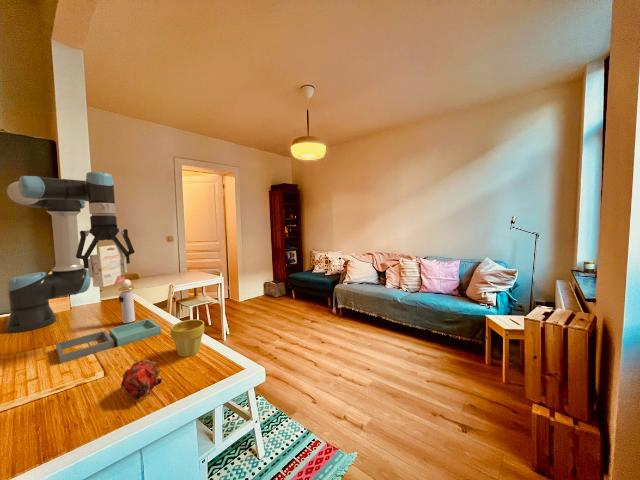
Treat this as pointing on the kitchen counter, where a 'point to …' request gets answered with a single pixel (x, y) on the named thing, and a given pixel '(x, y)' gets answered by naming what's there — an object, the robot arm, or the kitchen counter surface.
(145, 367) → the dragon fruit
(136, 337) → the teal tray
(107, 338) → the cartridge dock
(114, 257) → the ink cartridge box
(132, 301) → the perfume bottle
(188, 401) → the kitchen counter surface
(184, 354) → the plant pot
